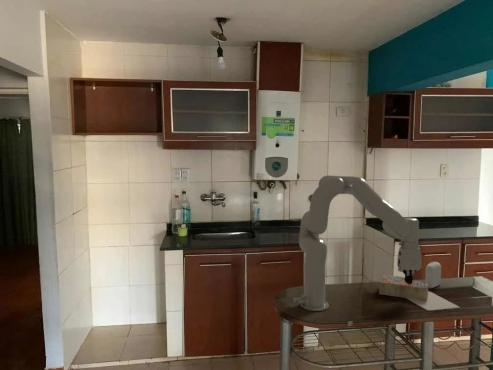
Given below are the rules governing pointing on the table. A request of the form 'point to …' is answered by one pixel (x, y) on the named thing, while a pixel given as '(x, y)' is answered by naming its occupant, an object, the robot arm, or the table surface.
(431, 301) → the mat
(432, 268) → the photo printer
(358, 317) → the table surface
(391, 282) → the stack of blocks
